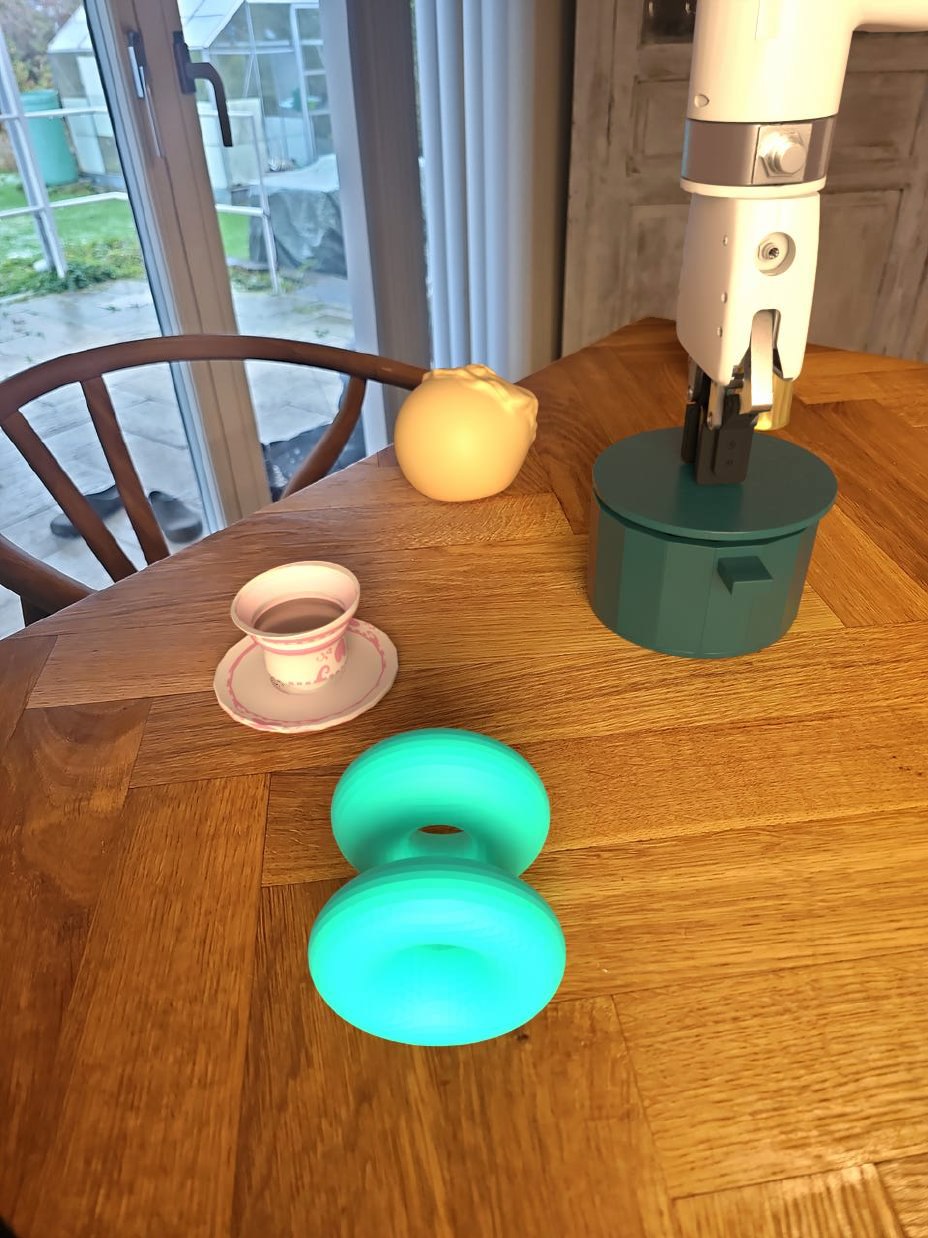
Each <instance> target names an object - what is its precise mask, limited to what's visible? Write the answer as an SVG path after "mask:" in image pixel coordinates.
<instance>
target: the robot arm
mask: <svg viewBox="0 0 928 1238" xmlns="http://www.w3.org/2000/svg"><path fill="white" fill-rule="evenodd" d="M695 6H696V8H695V17H694V18H695V19H694V27H693V28H694V30H693V39H692V50H691V51H692V52H691V61H690V71H689V72H690V73H689V84H688V85H689V86H688V95H687V105H686V118H685V126H684V134H683V135H684V136H683V147H682V158H681V169H680V181H679V187H680V189H682V190H683V191H684V192H687V193H690V194H691V198H690V204H689V210H688V213H687V221H686V228H685V234H684V240H683V241H684V243H683V249H682V256H681V262H680V263H681V264H680V272H679V279H678V281H679V282H678V289H677V300H676V301H677V302H676V314H675V315H676V316H675V318H676V320H675V323H676V324H675V326H676V327H675V329H676V331H675V332H676V335H677V340H678V342H679V343H680V344H681V346H682V347H683V348H684V350H685V351H686V352H687V354H688V356H689V355H690V356H691V357H690V359H691V360H689V364H690V369H689V372H688V376H687V386H686V398H687V402H688V403H686V405H685V412H684V421H683V426H684V430H683V439H682V448H681V459H682V460H683V462H684V463H687V464H689V463H694V459H695V451H696V442H697V434H698V426H699V418H700V410H701V406H702V405H703V404H705V403H707V402H709V408H708V417H707V423H705V424H701V428H700V436H699V444H698V452H697V460H696V468H695V476H694V477H695V480H696V482H697V483H698V484H699V485H715V484H729V483H740V482H743V481H744V480H745V479H746V475H747V469H748V463H749V457H750V451H751V444H752V438H753V432H755V431H754V427H756V425H757V423H758V418H759V413H762V412H769V411H771V409H772V406H773V373H774V374H775V375H776V376H778V377H779V378H780V379H781V380H783V381H785V382H791V381H794V380H795V381H796V379H798V377H799V376H800V375H801V372H802V369H803V364H804V358H805V353H806V346H807V340H808V333H809V327H810V320H811V311H812V305H813V298H814V289H815V281H816V273H817V265H818V264H817V263H818V252H819V242H820V241H819V239H820V216H821V215H820V214H821V211H820V209H821V208H820V207H821V205H820V204H821V200H820V199H821V195H820V193H819V192H818V191H820V190H823V189H824V188H825V185H826V181H827V174H828V169H829V165H830V160H831V159H830V158H831V154H832V153H831V152H832V147H833V141H834V136H835V131H836V127H837V120H838V113H839V108H840V104H841V98H842V91H843V86H844V80H845V77H846V71H847V65H848V59H849V55H850V48H851V43H852V37H853V32H867V33H914V32H915V33H917V32H927V31H928V0H696V5H695ZM738 368H744V373H737V369H738ZM739 388H743V390H742V392H740V393H738V394H734V389H739ZM724 401H725V402H724Z"/></svg>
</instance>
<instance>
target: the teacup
mask: <svg viewBox="0 0 928 1238" xmlns="http://www.w3.org/2000/svg"><path fill="white" fill-rule="evenodd" d="M360 601H361V585H360V582H359V580H358V578H357V576H356V575H355V574H354V573H353V572H352V571H351V570H350V569H348V568H346V567H345V566H343V565H340V564H337V563H334V562H329V561H324V560H323V561H322V560H304V561H295V562H291V563H287V564H283V565H279V566H277V567H273V568H271V569H269V570H267V571H265V572H262V573H261V574H259V575H257V576H255V577H253V578H252V579H251V580H250V581H248V582H247V583H246V584H244V585H243V586H242V587H241V588H240V589H239V590H238V592H237V593H236V594H235V596H234V598H233V599H232V601H231V605H230V617H231V620H232V621H233V623H234V624H235V626H237V628H239V629H240V630H241V631H243V633H245V634H247V635H245V636H244V637H242V639H240V640H239V641H238V642H236V643H235V644H234V645H232V647H230V648H229V649H227V651H226V652H225V654H224V655H223V657H222V658H221V660H220V661H219V662H218V664H217V666H216V668H215V673H214V676H213V677H214V678H213V682H212V687H213V691H214V694H215V696H216V700H217V701H218V706H219V707H220V708H221V709H223V710H224V712H225V713H227V714H228V715H229V717H231V718H232V719H233V720H234V721H235V722H238V723H240V724H243V725H245V726H248V727H250V728H253V729H255V730H257V731H262V732H263V731H265V732H272V733H280V734H298V733H308V732H315V731H323V730H325V729H328V728H331V727H335V726H337V725H341V724H344V723H347V722H350V721H352V720H353V719H355V718H357V717H358V716H360V715H361V714H364V713H365V712H368V710H370V709H373V708H374V707H375V706H376V705H378V703H379V702H380V701H381V700H382V699H383V698H384V697H385V696H386V694H387V693H388V692H389V691H390V690H391V689H392V687H393V685H394V683H395V680H396V677H397V675H398V673H399V660H398V659H399V658H398V649H397V648H396V645H394V642H393V641H392V640H391V639H390V637H389V636H388V634H387V633H385V632H384V631H383V630H381V629H380V628H378V627H377V626H376V625H374V624H372V623H370V622H367V621H364V620H361V619H358V618H354V616H355V614H356V613H357V611H358V608H359V606H360ZM271 679H272V680H273V681H271ZM277 680H278V681H280V682H281V683H280V682H278V681H277ZM274 682H275V683H276V684H278V685H276V684H274ZM282 684H283V685H284V686H283V685H282ZM279 686H280V687H279Z"/></svg>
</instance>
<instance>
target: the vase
mask: <svg viewBox="0 0 928 1238" xmlns="http://www.w3.org/2000/svg"><path fill="white" fill-rule="evenodd" d="M737 373H744V368H738V369H737ZM795 381H796V379H795V380H794V381H791V382H785V381H783V380H781V379H780V378H779V377H778V376H776V375H775V374H774V373H773V406H772V409H771V411H769V412H762V413H759V418H758V423H757V425H756V427H754V432H772V431H778V430H781V429H783V428H785V427H787V426H788V425H789V423H790V419H791V418H790V416H791V415H790V414H791V407H792V402H793V396H794V388H795ZM742 390H743V388H739V389H734V394H738V393H740V392H742Z"/></svg>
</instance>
